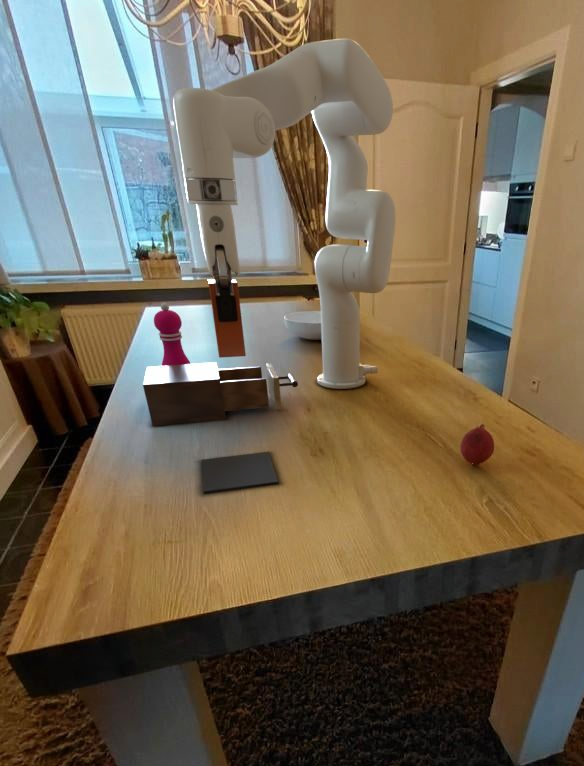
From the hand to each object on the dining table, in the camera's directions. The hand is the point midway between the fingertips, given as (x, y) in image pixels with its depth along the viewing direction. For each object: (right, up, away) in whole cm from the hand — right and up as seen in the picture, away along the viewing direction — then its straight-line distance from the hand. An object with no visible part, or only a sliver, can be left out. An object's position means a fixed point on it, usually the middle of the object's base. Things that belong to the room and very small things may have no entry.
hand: (227, 317), depth 86 cm
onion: (+44, -26, +3) cm, 51 cm away
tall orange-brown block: (0, -5, +3) cm, 6 cm away
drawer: (-1, -9, +27) cm, 28 cm away
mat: (+2, -27, 0) cm, 27 cm away
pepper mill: (-22, -3, +37) cm, 43 cm away
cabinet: (-15, -12, +24) cm, 30 cm away
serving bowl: (+7, +26, +84) cm, 89 cm away
